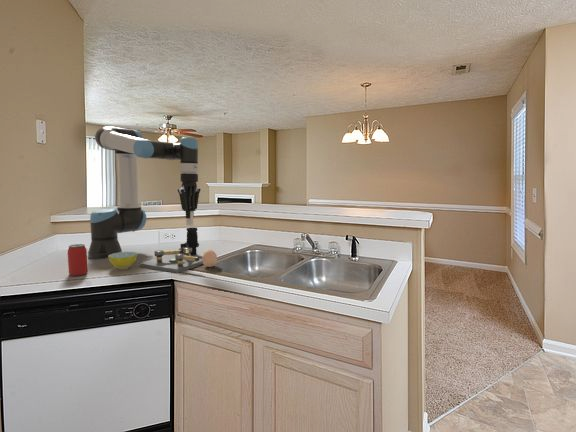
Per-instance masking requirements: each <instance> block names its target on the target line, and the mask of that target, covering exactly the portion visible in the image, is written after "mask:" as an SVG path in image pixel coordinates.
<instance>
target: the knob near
mask: <svg viewBox="0 0 576 432" xmlns="http://www.w3.org/2000/svg"><path fill="white" fill-rule="evenodd" d="M182 253H183V251H182V250H179V249H178V250H177V249H176V250H162V249H161V250H160V249H159V250H154V254H153V255H154V257H156V259H157V262H162V257H164V256H167V255H176V254H182Z"/></svg>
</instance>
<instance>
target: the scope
mask: <svg viewBox="0 0 576 432" xmlns="http://www.w3.org/2000/svg"><path fill="white" fill-rule="evenodd" d="M186 231H187V232H186V242H184V243H180V247H179V248H178V250H182V251H183V248H187V247H190V248H192V253H190V256H197V248H199V246H200V244H199V239H198V238H199V237H198V227H187V228H186ZM182 254H185V253H182Z"/></svg>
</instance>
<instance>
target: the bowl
mask: <svg viewBox="0 0 576 432" xmlns="http://www.w3.org/2000/svg"><path fill="white" fill-rule="evenodd" d="M137 256H138V253H137V252H135V251H122V252H119V253H114V254H111V255H109V256H108V258H107V259H108V260H109V263H110V264H111V265H112V266H114V267H116V268H117V269H118V270H121V271H122V270H128V269H129V268H130V266H132V265H133V264H134V263H135V262H136V260H137V258H138V257H137Z"/></svg>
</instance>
